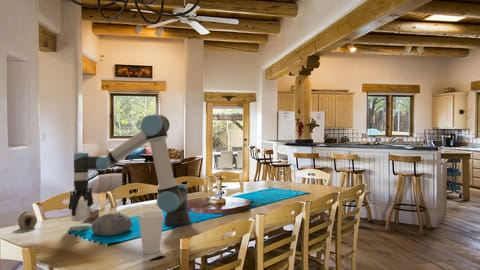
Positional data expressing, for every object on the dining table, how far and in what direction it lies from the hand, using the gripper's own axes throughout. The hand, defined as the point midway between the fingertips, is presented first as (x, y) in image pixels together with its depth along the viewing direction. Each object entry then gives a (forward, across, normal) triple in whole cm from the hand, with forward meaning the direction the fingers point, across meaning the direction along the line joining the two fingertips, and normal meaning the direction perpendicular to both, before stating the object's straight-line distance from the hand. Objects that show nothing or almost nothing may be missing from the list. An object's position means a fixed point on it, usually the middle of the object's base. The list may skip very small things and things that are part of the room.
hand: (81, 219), depth 199 cm
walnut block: (+4, -14, -6) cm, 16 cm away
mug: (0, 0, 0) cm, 1 cm away
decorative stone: (+4, +2, +23) cm, 24 cm away
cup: (+4, +20, +61) cm, 64 cm away
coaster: (+4, 0, 0) cm, 4 cm away
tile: (+4, -14, -6) cm, 16 cm away
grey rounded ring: (+5, +12, -26) cm, 29 cm away
